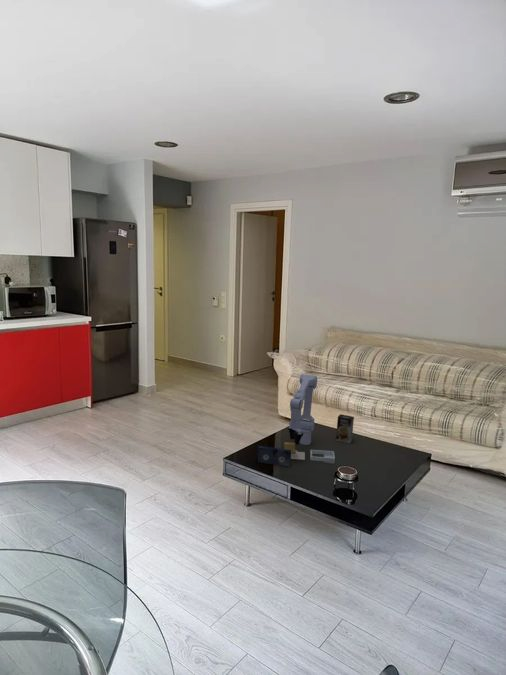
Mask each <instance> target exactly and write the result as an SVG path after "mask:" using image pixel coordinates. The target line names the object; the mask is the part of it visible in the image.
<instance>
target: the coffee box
mask: <svg viewBox="0 0 506 675" xmlns="http://www.w3.org/2000/svg"><path fill="white" fill-rule="evenodd" d="M354 421H355V417H354V416H351V415H347V414H341V413H340V414H339V415H338V416H337V421H336V422H337V423H336V433H335V434H336V435H335V436H336V438H335V441H336V442H341V443H344V444H350V443H352V441H353V432H354Z"/></svg>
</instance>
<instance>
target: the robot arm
mask: <svg viewBox="0 0 506 675" xmlns="http://www.w3.org/2000/svg"><path fill="white" fill-rule="evenodd" d="M299 383H300V386H299V389H297V390H296V392H295V394H294V396H293V398H291V399H290V401H289V408H290V410H289V411H290V421H289V426H287V430H288V433H289V437H290V440H294V443H295V446H297V445H300V444H301V445H303V446H305V445H306V446H307V445H310V444H311V443H312V432H313V431H314V429H315V418H314V417H313V416H312V415H311V412H312V403H313V402H312V401H313V393H314V391H315V389H317V386H318V376H317V375H311V374H304V373H301V374H300V376H299ZM302 410H303V411H302Z"/></svg>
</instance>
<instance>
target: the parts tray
mask: <svg viewBox="0 0 506 675" xmlns="http://www.w3.org/2000/svg"><path fill="white" fill-rule="evenodd" d="M309 451H310V452H309V453H310V457H309V458H310V461H318V462H323V463H324V464H333V465H334V464H336V463H335V460H336V457H335V451H334V450H331V451H330V450H323V449H322V450H319V449H310V450H309ZM315 454H316V455H323V456H315Z"/></svg>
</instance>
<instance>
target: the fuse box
mask: <svg viewBox="0 0 506 675" xmlns="http://www.w3.org/2000/svg"><path fill="white" fill-rule="evenodd" d="M305 454H306V453H305V451H298V450H297V449H295V454H291V460H303V461H305V460H306V458H305V457H306V455H305Z"/></svg>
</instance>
